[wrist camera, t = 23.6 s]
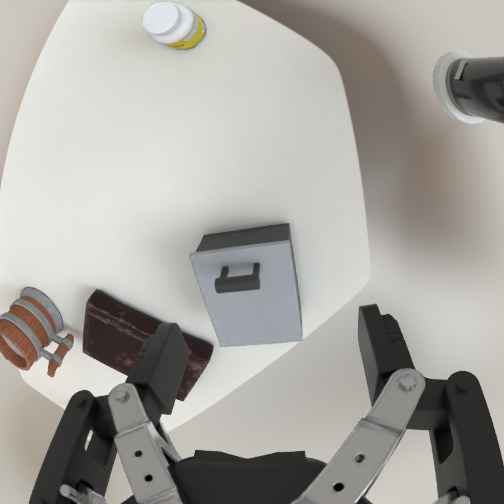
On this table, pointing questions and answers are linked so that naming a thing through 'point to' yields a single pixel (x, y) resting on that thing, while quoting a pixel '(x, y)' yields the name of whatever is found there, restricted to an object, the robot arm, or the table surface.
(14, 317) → the mug
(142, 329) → the diary
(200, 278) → the lid
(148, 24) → the supplement bottle
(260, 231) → the dark grey open box
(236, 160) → the table surface
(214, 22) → the table surface
